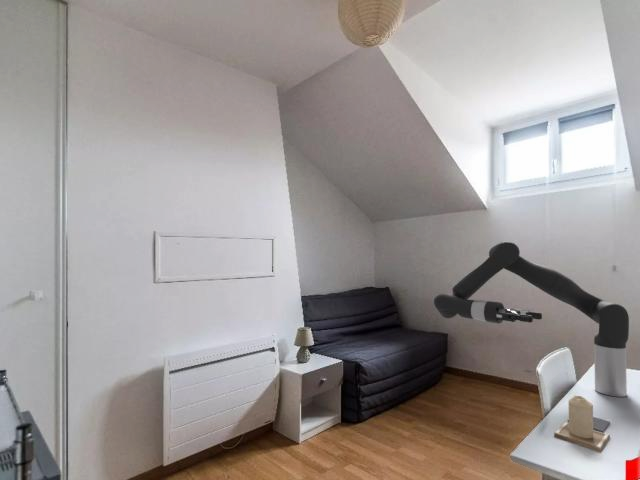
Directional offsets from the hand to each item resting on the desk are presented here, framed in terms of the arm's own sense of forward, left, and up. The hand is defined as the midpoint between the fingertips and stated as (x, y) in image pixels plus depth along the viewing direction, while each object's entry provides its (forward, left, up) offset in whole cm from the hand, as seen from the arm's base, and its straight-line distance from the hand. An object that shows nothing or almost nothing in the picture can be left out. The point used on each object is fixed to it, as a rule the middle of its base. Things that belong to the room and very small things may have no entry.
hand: (537, 317), depth 118 cm
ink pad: (-2, +13, -30) cm, 33 cm away
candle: (+10, +14, -29) cm, 34 cm away
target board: (+10, +14, -30) cm, 35 cm away
